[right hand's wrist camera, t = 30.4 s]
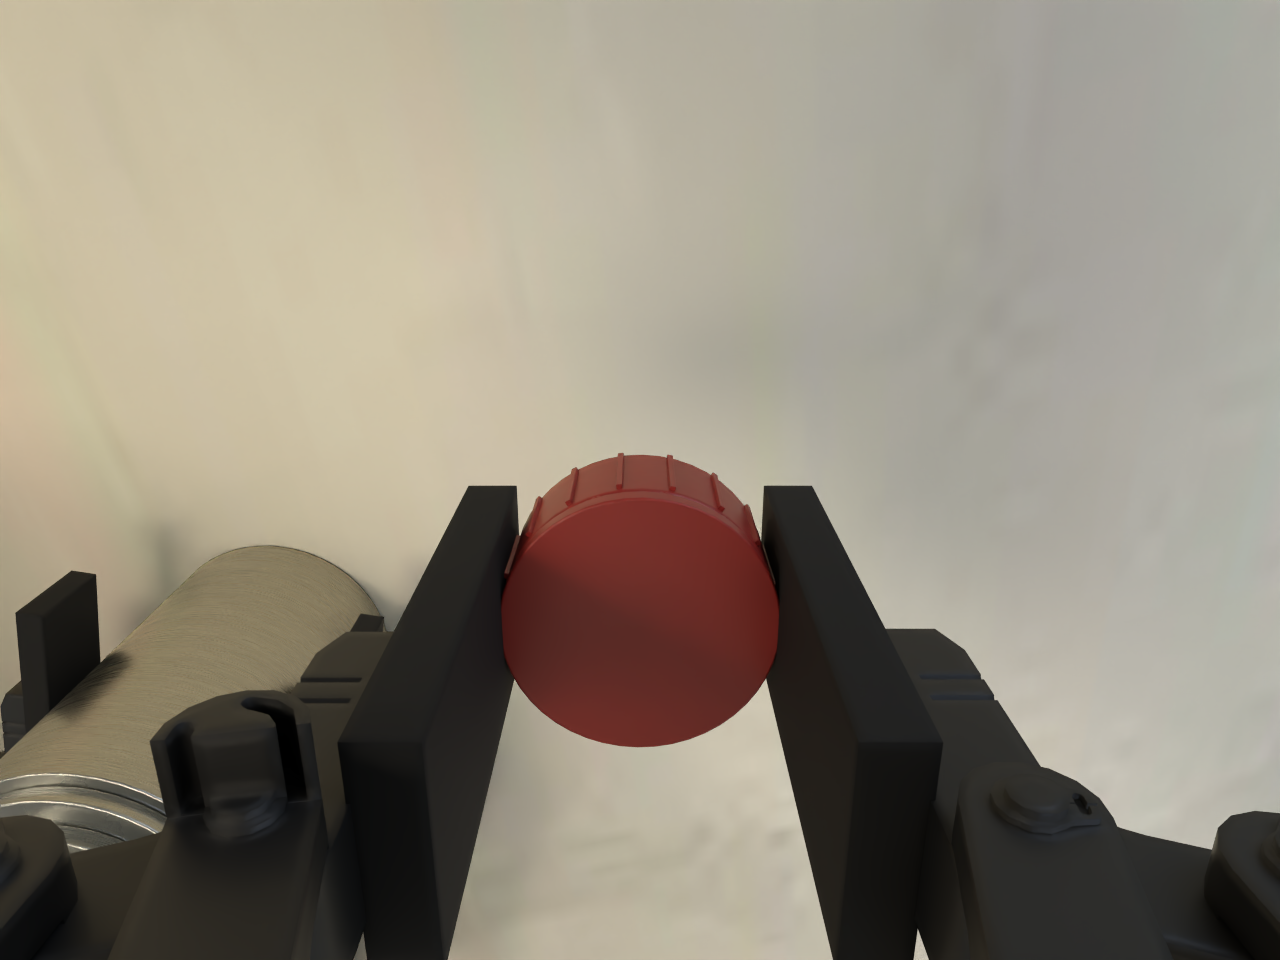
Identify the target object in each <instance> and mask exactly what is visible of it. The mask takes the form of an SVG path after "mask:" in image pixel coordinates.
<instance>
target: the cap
mask: <svg viewBox="0 0 1280 960" xmlns="http://www.w3.org/2000/svg"><path fill="white" fill-rule="evenodd" d="M504 578H505V579H507V581H506V584H505V587H504V590H503V593H502V599H501V615H502V632H503V648H504V657H505V660H506V662H507V665H508V667H509V669H510V672H511V674H512V675H513V677H514V679H515V680H516V682H517V684H518V685H519V687H520V689H521V690H522V691H523V692H524V694H525V695H526V696H527V697H528V699H529V700H530V701H531V702H532V703H533V704H534V705H535V706H536V707H537V708H538V709H539V710H540V711H541V712H542V713H544V714H545V715H546V716H548V717H549V718H550V719H552V720H553V721H554V722H556V723H557V724H559V725H561V726H563V727H564V728H566V729H568V730H570V731H572V732H574V733H576V734H579V735H581V736H583V737H585V738H588V739H592V740H595V741H598V742H602V743H606V744H612V745H617V746H627V747H655V746H662V745H668V744H674V743H677V742H681V741H685V740H689V739H691V738H694V737H696V736H699V735H701V734H704V733H706V732H708V731H710V730H712V729H714V728H716V727H717V726H719V725H721V724H722V723H724V722H725V721H727V720H728V719H729V718H731V717H732V716H734V715H735V714H736V713H737V712H738V711H739V710H740V709H742V708H743V707H744V706H745V705H746V704H747V703H748V702H749V701H750V699H751V698H752V697H753V696H754V695H755V694H756V692H757V691H758V690H759V688H760V687H761V685H762V683H763V682H764V680H765V679H766V677H767V675H768V673H769V671H770V669H771V667H772V665H773V662H774V659H775V656H776V652H777V641H778V625H779V598H778V595H777V591H776V583H775V580H774V576H773V573H772V570H771V567H770V564H769V560H768V557H767V554H766V551H765V548H764V545H762V543H761V540H760V536H759V533H758V530H757V528H756V526H755V523H754V519H753V516H752V513H751V510H750V507H749V506H748V504H746V505H745V506H744V505H743V504H742V503H741V501H740V500H739V499H738V498H737V497H736V496H735V494H734V493H733V492H732V491H731V490H729V489H728V488H727V487H726V486H725V485H724V484H723V483H722V482H720V481H719V480H718V477H717V475H716V474H715V473H712V474H711V475H710V474H708V473H707V472H705V471H703V470H701V469H699V468H697V467H695V466H693V465H690V464H687V463H684V462H681V461H678V460H675V459H673V456H672V455H667V458H666V457H661V456H650V455H628V456H624V453H618V457H614V458H608V459H605V460H602V461H598V462H595V463H592V464H590V465H588V466H585V467H583V468H581V469H579V470H578V469H577V467H575V468H574V469H572V471H571V474H570V475H568V476H567V477H565V478H564V479H562V480H561V481H560V482H559V483H557V484H556V485H555V486H554V487H552V488H551V489H550V490H549V491H548V492H547V493H546V494H545V495H544V496H543V498H541V497H540V496H538V498H537V499H536V501H535V505H534V508H533V511H532V512H531V514H530V516H529V517H528V519H527V521H526V523H525V525H524V527H523V530H522V533H521V536H519V535H516V538H515V541H514V544H513V547H512V551H511V554H510V557H509V560H508V563H507V566H506V569H505V572H504Z"/></svg>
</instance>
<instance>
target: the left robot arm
mask: <svg viewBox="0 0 1280 960" xmlns="http://www.w3.org/2000/svg"><path fill="white" fill-rule="evenodd" d="M383 624H384V617H381V616H375V615H368V614H360V615H359V617H358V619H357V620H356V622H355V624H354V625H353V627H352V629H351V630H350V632H383ZM16 625H17V636H18V648H19V659H20V671H21V681H20V682H19V683H18V684H17V685H15V686H14V687H13V688H12V689H11V690H10V691H9V692H7V693H6V695H5V697H4V700H3V702H2V704H1V716H2V721H3V723H2V727H3V732H4V734H3V737H4V747H5V751H3V752H0V759H1V758H2V757H3V756H4V755H5V754H6V753H7V752H8V751H9V750H10V749H11V748H12V747H13V746H14V745H16V744H17V743H18V742H19V741H20V740H21V739H22V738H23V737H24V736H25V735H26V734H27V733H28V732H29V731H30V730H31V729H32V728H33V727H34V726H35V725H36V724H37V723H38V722H39V721H40V720H42V719H43V718H44V717H45V716H46V715H47V714H48V713H49V712H50V711H51V710H52V709H53V708H54V707H55V706H56V705H57V704H58V703H59V702H60V701H61V700H62V699H63V698H64V697H65V696H66V695H68V694H69V693H70V692H71V691H72V690H73V689H74V688H75V687H76V686H77V685H78V684H79V683H80V682H81V681H82V680H83V679H84V678H85V677H86V676H87V675H88V674H89V673H90V672H91V671H92V670H94V669H95V668H96V667H97V666H98V665H99V664H100V646H99V626H98V605H97V585H96V574H90V573H84V572H77V571H71V572H69V573H68V574H67V575H65V576H64V577H63V578H61V579H60V580H59V581H57V582H56V583H55V584H53V585H52V586H51V587H49V588H48V589H47V590H45V591H44V592H43V593H41V594H40V595H39V596H37V597H36V598H35V599H33V600H32V601H31V602H29V603H28V604H27V605H25V606H24V607H23V608H21V609H20V610H19V611H18V612H16Z"/></svg>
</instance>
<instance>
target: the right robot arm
mask: <svg viewBox="0 0 1280 960" xmlns="http://www.w3.org/2000/svg"><path fill="white" fill-rule="evenodd" d="M516 535H519V525H518V505H517V486H468V488H467V490H466V492H465V494H464V496H463V498H462V500H461V502H460V504H459V506H458V508H457V510H456V512H455V514H454V515H453V517H452V519H451V521H450V523H449V525H448V527H447V529H446V531H445V533H444V535H443V537H442V539H441V541H440V543H439V545H438V547H437V549H436V551H435V553H434V554H433V556H432V558H431V560H430V562H429V564H428V566H427V568H426V570H425V572H424V574H423V576H422V578H421V580H420V582H419V584H418V586H417V588H416V590H415V592H414V593H413V595H412V597H411V599H410V601H409V603H408V605H407V607H406V609H405V611H404V613H403V615H402V617H401V619H400V621H399V623H398V625H397V627H396V629H395V631H394V632H345V633H344V634H342V635H341V636H339V637H338V638H337V639H335V640H334V641H332V642H331V643H330V644H328V645H327V646H325V647H324V648H323V649H321V650H320V651H318V652H317V653H316V654H315V656H314V657H313V659H312V660H311V662H310V664H309V665H308V667H307V668H306V670H305V671H304V673H303V674H302V676H301V677H300V682H297V684H296V685H295V687H294V688H293V690H292V691H291V693H290V694H287V693H283V692H279V691H276V690H245V691H240V692H235V693H230V694H225V695H220V696H216V697H214V698H211V699H209V700H206V701H203V702H201V703H198V704H196V705H193V706H191V707H188V708H187V709H185V710H184V711H182V712H181V713H179V714H178V715H176V716H175V717H173V718H171V719H170V720H168V721H167V722H165V723H164V724H163V725H162V727H161V728H160V729H159V730H158V731H157V733H156V734H155V735H154V736H153V737H152V739H151V740H150V741H149V742H150V746H151V751H152V755H153V760H154V764H155V769H156V773H157V778H158V782H159V787H160V791H161V796H162V800H163V804H164V809H165V813H166V818H167V820H166V822H165V824H164V827H163V829H162V831H161V832H158V833H155V834H151V835H148V836H145V837H141V838H138V839H134V840H129V841H125V842H120V843H116V844H111V845H107V846H102V847H97V848H93V849H88V850H84V851H79V852H75V853H69V849H68V846H67V842H66V838H65V835H64V832H63V831H62V830H61V829H60V828H59V827H58V826H57V825H56V824H55V823H54V822H53V821H52V820H50V819H45V818H40V817H35V816H30V815H20V816H10V817H0V960H353V959H354V956H355V953H356V951H357V948H358V945H359V942H360V939H361V936H362V934H363V933H364V940H365V947H366V954H367V960H447V959H448V955H449V951H450V947H451V943H452V938H453V934H454V930H455V926H456V922H457V917H458V913H459V909H460V905H461V901H462V896H463V892H464V888H465V884H466V880H467V875H468V871H469V867H470V863H471V859H472V854H473V850H474V846H475V842H476V838H477V833H478V829H479V825H480V821H481V817H482V812H483V808H484V804H485V800H486V796H487V791H488V787H489V783H490V779H491V775H492V770H493V766H494V762H495V758H496V754H497V749H498V745H499V741H500V737H501V733H502V728H503V724H504V720H505V716H506V712H507V707H508V703H509V699H510V695H511V691H512V686H513V682H514V677H513V675H512V674H511V672H510V669H509V667H508V665H507V662H506V660H505V657H504V648H503V632H502V615H501V599H502V593H503V590H504V587H505V584H506V581H507V579H505V578H504V572H505V569H506V566H507V563H508V560H509V557H510V554H511V551H512V547H513V544H514V541H515V538H516ZM761 543H762V545H764V548H765V551H766V554H767V557H768V560H769V564H770V567H771V570H772V573H773V576H774V580H775V583H776V591H777V595H778V598H779V625H778V641H777V652H776V656H775V659H774V662H773V665H772V667H771V669H770V671H769V673H768V675H767V677H766V680H767V684H768V688H769V692H770V697H771V701H772V705H773V709H774V713H775V718H776V722H777V726H778V730H779V734H780V739H781V743H782V747H783V751H784V755H785V760H786V764H787V768H788V772H789V776H790V781H791V785H792V789H793V793H794V797H795V801H796V806H797V810H798V814H799V818H800V822H801V827H802V831H803V835H804V839H805V843H806V848H807V852H808V856H809V860H810V864H811V869H812V873H813V877H814V881H815V885H816V890H817V894H818V898H819V902H820V906H821V911H822V915H823V919H824V923H825V927H826V932H827V936H828V940H829V944H830V948H831V953H832V957H833V960H913V959H914V951H915V944H916V937H917V930H919V933H920V936H921V939H922V941H923V944H924V947H925V950H926V953H927V955H928V958H929V960H1280V813H1271V812H1260V811H1252V812H1247V813H1242V814H1237V815H1232V816H1230V817H1229V818H1228V819H1227V820H1226V821H1225V822H1224V823H1223V824H1222V825H1221V826H1220V827H1218V830H1217V834H1216V838H1215V841H1214V845H1213V849H1212V850H1210V849H1206V848H1201V847H1196V846H1192V845H1187V844H1183V843H1178V842H1174V841H1169V840H1164V839H1160V838H1155V837H1151V836H1146V835H1143V834H1139V833H1136V832H1132V831H1129V830H1125V829H1122V828H1119V827H1117V825H1116V823H1115V820H1114V818H1113V817H1112V815H1111V814H1110V812H1109V811H1108V810H1107V808H1106V807H1105V805H1104V804H1103V803H1102V801H1101V800H1100V798H1098V797H1097V796H1096V795H1094V794H1093V793H1092V792H1090V791H1089V790H1088V789H1086V788H1085V787H1084V786H1083V785H1081V784H1080V783H1079V782H1077V781H1075V780H1073V779H1071V778H1069V777H1066V776H1064V775H1062V774H1060V773H1058V772H1055V771H1053V770H1051V769H1048V768H1044V767H1041V766H1040V765H1039V763H1038V762H1037V760H1036V759H1035V757H1034V756H1033V754H1032V753H1031V751H1030V750H1029V748H1028V746H1027V745H1026V743H1025V742H1024V740H1023V739H1022V737H1021V736H1020V734H1019V733H1018V731H1017V730H1016V728H1015V727H1014V725H1013V723H1012V722H1011V720H1010V719H1009V717H1008V716H1007V714H1006V713H1005V711H1004V710H1003V708H1002V707H1001V705H1000V703H999V702H998V700H994V694H993V693H992V691H991V690H990V688H989V687H988V685H987V683H986V682H985V680H984V679H981V674H980V673H979V671H978V670H977V668H976V667H975V665H974V663H973V662H972V660H971V659H970V657H969V656H968V654H967V653H966V651H965V650H964V649H963V648H961V647H960V646H958V645H957V644H956V643H954V642H953V641H951V640H950V639H948V638H947V637H946V636H944V635H943V634H941V633H940V632H939V631H937V630H936V629H885V627H884V625H883V623H882V621H881V620H880V618H879V616H878V614H877V612H876V610H875V608H874V606H873V604H872V602H871V600H870V598H869V596H868V594H867V592H866V590H865V588H864V586H863V584H862V582H861V581H860V579H859V577H858V575H857V573H856V571H855V569H854V567H853V565H852V563H851V561H850V559H849V557H848V555H847V553H846V551H845V549H844V547H843V545H842V543H841V542H840V540H839V538H838V536H837V534H836V532H835V530H834V528H833V526H832V524H831V522H830V520H829V518H828V516H827V514H826V512H825V510H824V508H823V506H822V504H821V503H820V501H819V499H818V497H817V495H816V493H815V491H814V489H813V487H812V486H764V497H763V517H762V536H761Z"/></svg>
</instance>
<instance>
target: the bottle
mask: <svg viewBox="0 0 1280 960" xmlns="http://www.w3.org/2000/svg"><path fill="white" fill-rule="evenodd" d="M360 614H368V615H375V616H380V614H379V612H378V610H377V608H376V606H375V605H374V604H373V602H372V601H371V599H370V598H369V596H368V595H367V594H366V593H365V591H364V590H363V589H362V588H361V587H360V586H359V585H358V584H357V583H356V582H355V581H354V580H353V579H352V578H350V577H349V576H348V575H347V574H346V573H344V572H343V571H341V570H340V569H339V568H337V567H336V566H334V565H332V564H330V563H328V562H327V561H325V560H323V559H321V558H318V557H316V556H313V555H311V554H309V553H305V552H302V551H298V550H295V549H290V548H284V547H274V546H257V547H247V548H242V549H237V550H233V551H230V552H227V553H224V554H222V555H220V556H218V557H216V558H214V559H212V560H210V561H208V562H207V563H205V564H204V565H203V566H201V567H200V568H199V569H198V570H197V571H195V572H194V573H193V574H192V575H191V576H190V577H189V578H188V579H187V580H186V581H185V582H184V583H183V584H182V585H181V586H180V587H179V588H178V589H177V590H176V591H175V592H174V593H173V594H171V595H170V596H169V597H168V598H167V599H166V600H165V601H164V602H163V603H162V604H161V605H160V606H159V607H158V608H157V609H156V610H155V611H154V612H153V613H152V614H151V615H150V616H149V617H148V618H147V619H145V620H144V621H143V622H142V623H141V624H140V625H139V626H138V627H137V628H136V629H135V630H134V631H133V632H132V633H131V634H130V635H129V636H128V637H127V638H126V639H125V640H124V641H123V642H122V643H121V644H120V645H118V646H117V647H116V648H115V649H114V650H113V651H112V652H111V653H110V654H109V655H108V656H107V657H106V658H105V659H104V660H103V661H102V662H101V663H100V664H99V665H98V666H97V667H96V668H95V669H94V670H92V671H91V672H90V673H89V674H88V675H87V676H86V677H85V678H84V679H83V680H82V681H81V682H80V683H79V684H78V685H77V686H76V687H75V688H74V689H73V690H72V691H71V692H70V693H69V694H68V695H66V696H65V697H64V698H63V699H62V700H61V701H60V702H59V703H58V704H57V705H56V706H55V707H54V708H53V709H52V710H51V711H50V712H49V713H48V714H47V715H46V716H45V717H44V718H43V719H42V720H40V721H39V722H38V723H37V724H36V725H35V726H34V727H33V728H32V729H31V730H30V731H29V732H28V733H27V734H26V735H25V736H24V737H23V738H22V739H21V740H20V741H19V742H18V743H17V744H16V745H14V746H13V747H12V748H11V749H10V750H9V751H8V752H7V753H6V754H5V755H4V756H3V757H2V758H1V759H0V817H10V816H20V815H30V816H35V817H40V818H45V819H50V820H52V821H53V822H54V823H55V824H56V825H57V826H58V827H59V828H60V829H61V830H62V831H63V832H64V835H65V838H66V842H67V846H68V849H69V853H75V852H79V851H84V850H88V849H93V848H97V847H102V846H107V845H111V844H116V843H120V842H125V841H129V840H134V839H138V838H141V837H145V836H148V835H151V834H155V833H158V832H161V831H162V829H163V827H164V824H165V822H166V820H167V818H166V813H165V809H164V804H163V800H162V796H161V791H160V787H159V782H158V778H157V773H156V769H155V764H154V760H153V755H152V751H151V746H150V742H149V741H150V740H151V739H152V737H153V736H154V735H155V734H156V733H157V731H158V730H159V729H160V728H161V727H162V725H163V724H164V723H165V722H167V721H168V720H170V719H171V718H173V717H175V716H176V715H178V714H179V713H181V712H182V711H184V710H185V709H187V708H188V707H191V706H193V705H196V704H198V703H201V702H203V701H206V700H209V699H211V698H214V697H216V696H220V695H225V694H230V693H235V692H240V691H245V690H276V691H279V692H283V693H287V694H290V693H291V691H292V690H293V688H294V687H295V685H296V684H297V682H300V677H301V676H302V674H303V673H304V671H305V670H306V668H307V667H308V665H309V664H310V662H311V660H312V659H313V657H314V656H315V654H316V653H317V652H318V651H320V650H321V649H323V648H324V647H325V646H327V645H328V644H330V643H331V642H332V641H334V640H335V639H337V638H338V637H339V636H341V635H342V634H344V633H345V632H350V630H351V629H352V627H353V625H354V624H355V622H356V620H357V619H358V617H359V615H360ZM383 632H386V629H385V627H384V624H383Z"/></svg>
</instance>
